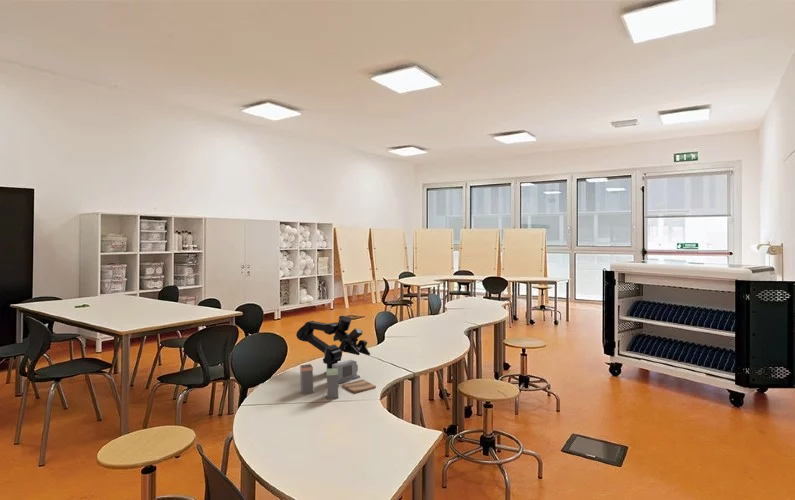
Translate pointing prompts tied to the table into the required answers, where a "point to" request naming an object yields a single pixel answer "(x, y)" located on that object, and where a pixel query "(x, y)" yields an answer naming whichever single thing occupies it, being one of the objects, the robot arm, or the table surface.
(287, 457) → the table surface
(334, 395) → the block
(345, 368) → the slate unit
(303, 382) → the block
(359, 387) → the walnut pad
